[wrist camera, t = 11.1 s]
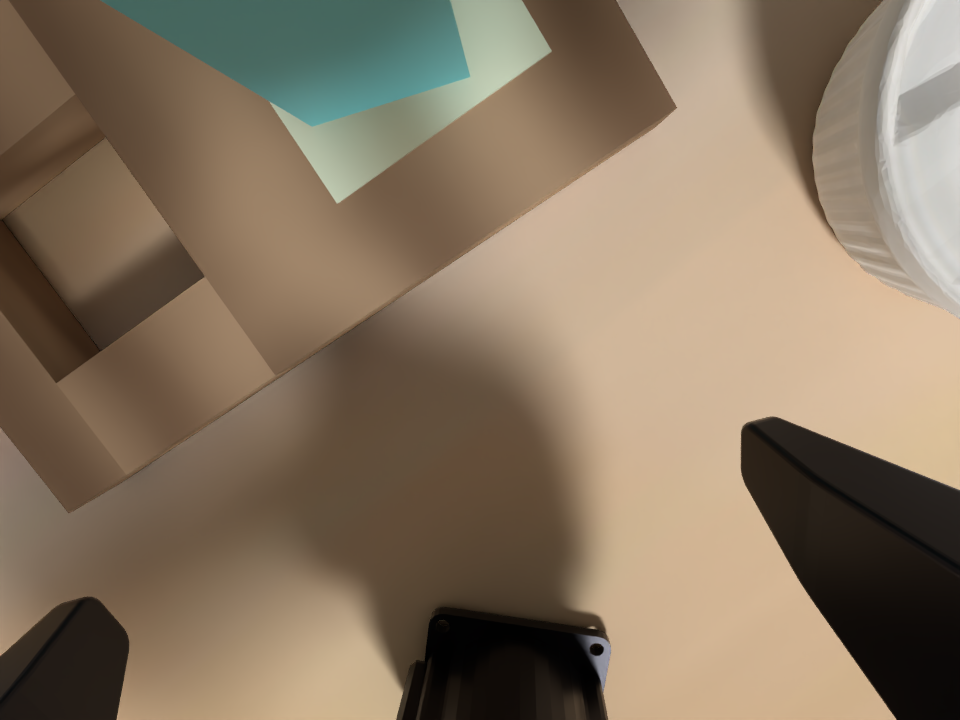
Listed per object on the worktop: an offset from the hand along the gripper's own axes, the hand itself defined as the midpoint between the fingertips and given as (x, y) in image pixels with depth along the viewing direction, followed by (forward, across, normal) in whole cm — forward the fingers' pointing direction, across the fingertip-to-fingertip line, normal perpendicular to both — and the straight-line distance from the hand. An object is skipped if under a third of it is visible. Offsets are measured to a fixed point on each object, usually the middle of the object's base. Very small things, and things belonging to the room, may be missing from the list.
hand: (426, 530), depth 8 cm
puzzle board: (+14, +4, -4) cm, 16 cm away
